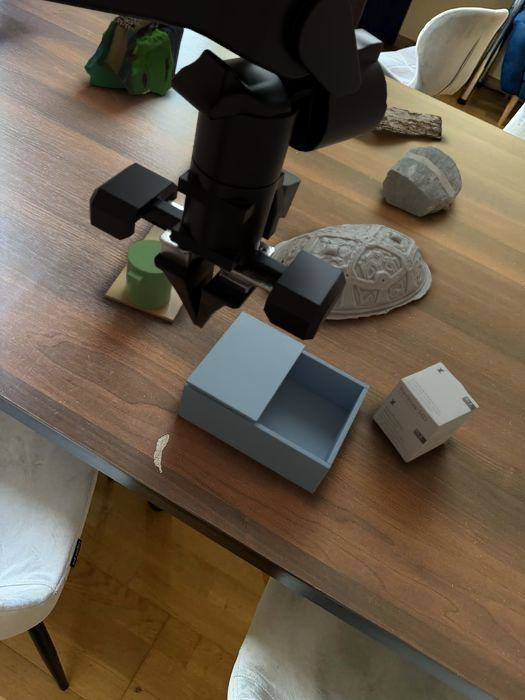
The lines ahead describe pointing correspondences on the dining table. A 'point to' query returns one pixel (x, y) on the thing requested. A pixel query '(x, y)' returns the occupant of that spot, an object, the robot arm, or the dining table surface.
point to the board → (118, 286)
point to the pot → (146, 276)
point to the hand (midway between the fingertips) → (200, 323)
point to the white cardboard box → (424, 411)
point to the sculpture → (136, 56)
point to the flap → (246, 366)
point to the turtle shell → (365, 266)
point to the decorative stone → (423, 181)
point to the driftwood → (411, 123)
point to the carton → (288, 420)
